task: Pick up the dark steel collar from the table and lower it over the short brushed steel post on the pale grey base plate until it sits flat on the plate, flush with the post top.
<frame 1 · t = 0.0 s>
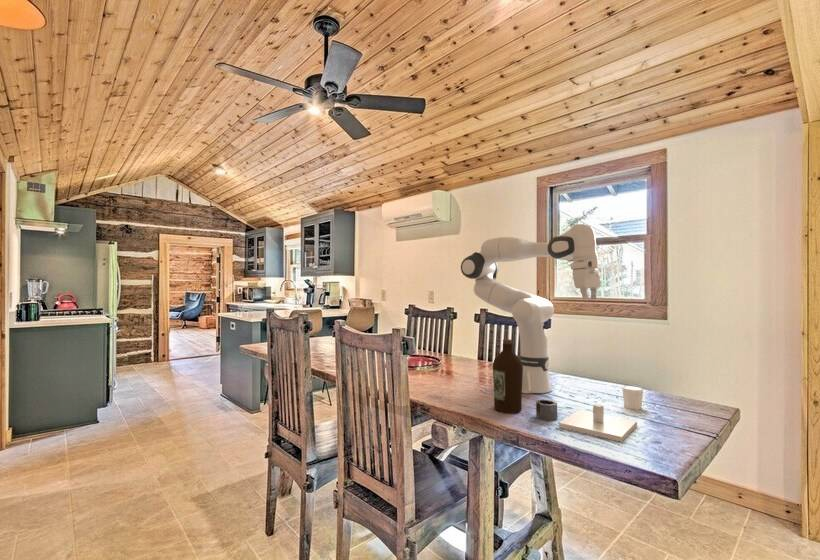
hand: (589, 299, 160), 39 cm above the table, tool pointing down, fingers open, 8 cm apart
olive oil: (507, 410, 147), on the table
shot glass: (632, 407, 150), on the table
steel collar: (546, 417, 138), on the table
post stand: (598, 426, 129), on the table
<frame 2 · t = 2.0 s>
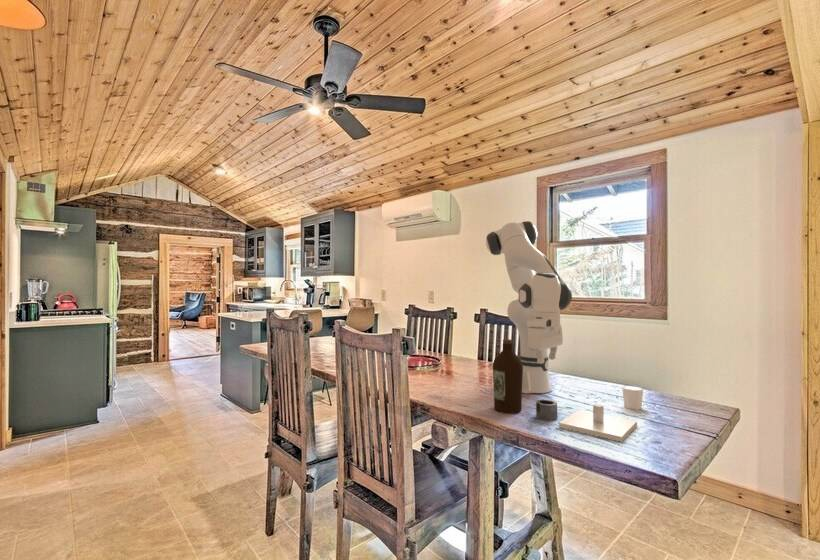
hand: (546, 361, 138), 19 cm above the table, tool pointing down, fingers open, 8 cm apart
nothing on the table moved.
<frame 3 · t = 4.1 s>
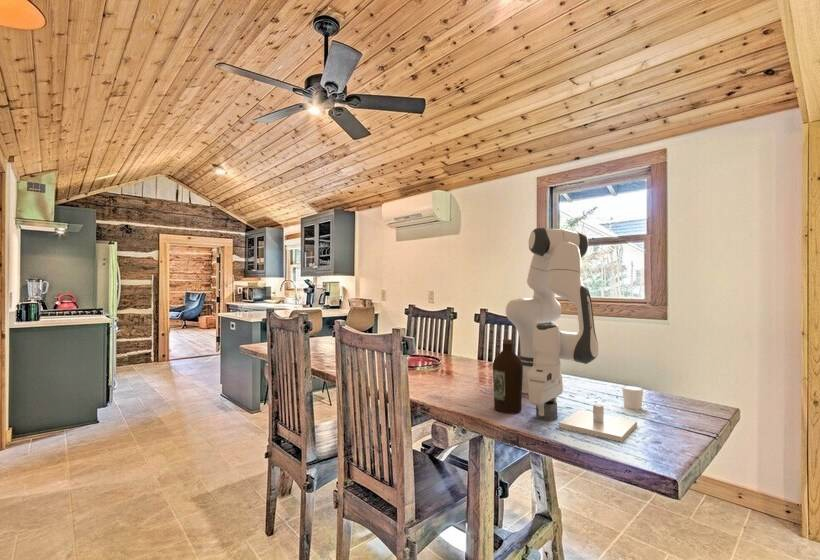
hand: (546, 412, 138), 2 cm above the table, tool pointing down, fingers closed on steel collar, 7 cm apart
steel collar: (546, 417, 138), on the table, touching gripper
everything else where it was.
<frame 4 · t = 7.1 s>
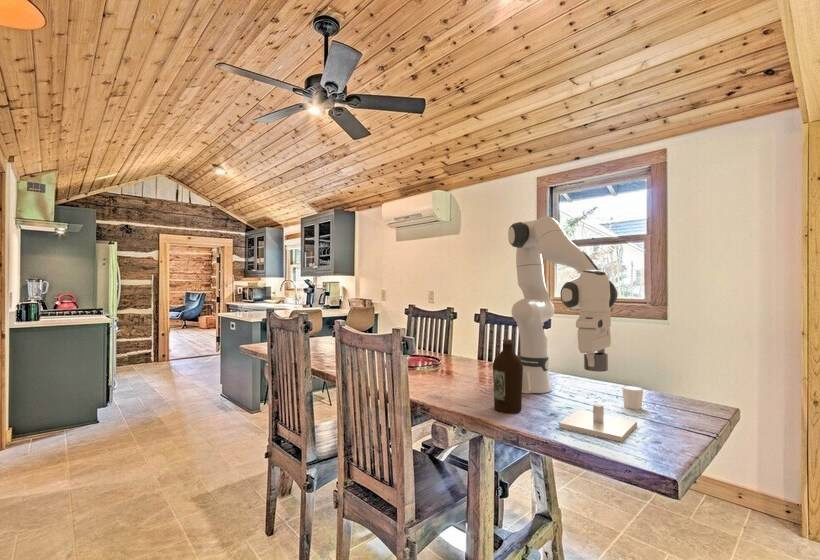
hand: (596, 364, 130), 20 cm above the table, tool pointing down, fingers closed on steel collar, 7 cm apart
steel collar: (596, 369, 130), point 18 cm above the table, touching gripper
everything else where it was.
when the fingers open (4 cm above the table, at t = 10.3 s): steel collar drops 1 cm, resting on post stand.
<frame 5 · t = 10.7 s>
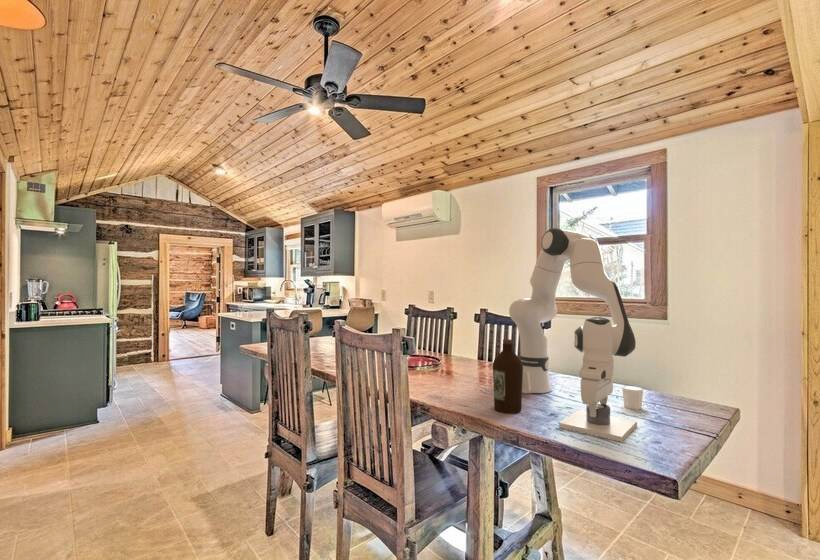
hand: (598, 412, 129), 4 cm above the table, tool pointing down, fingers open, 8 cm apart
steel collar: (598, 421, 129), point 1 cm above the table, touching post stand
everything else where it was.
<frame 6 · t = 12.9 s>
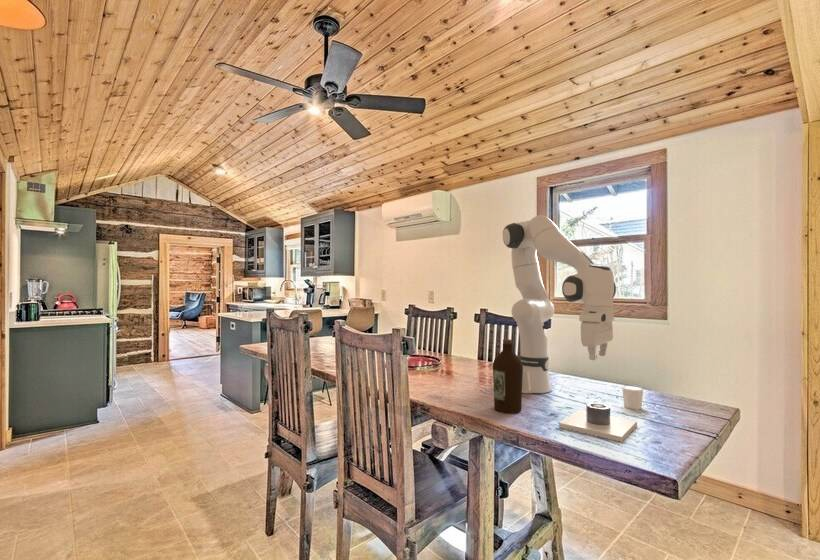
hand: (597, 357, 132), 21 cm above the table, tool pointing down, fingers open, 8 cm apart
nothing on the table moved.
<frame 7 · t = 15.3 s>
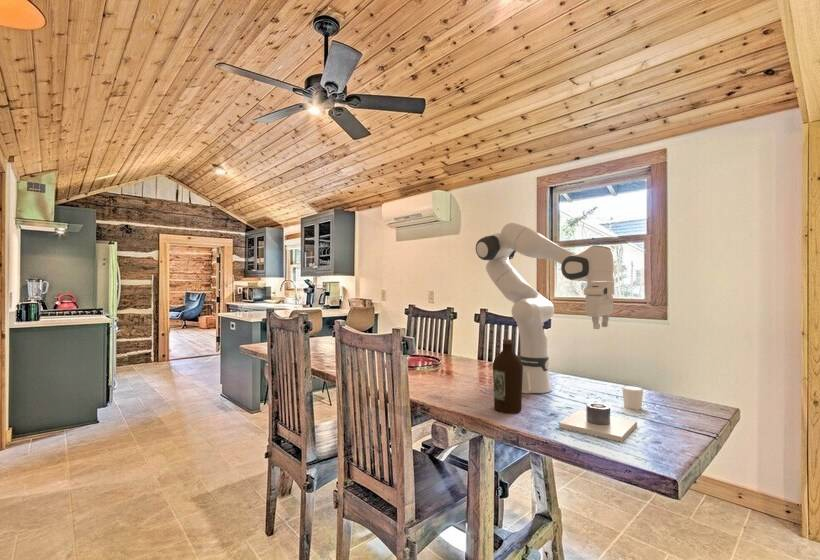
hand: (600, 327, 148), 29 cm above the table, tool pointing down, fingers open, 8 cm apart
nothing on the table moved.
at the end: steel collar 0.1 cm from the post stand (horizontally); steel collar point 1.5 cm above the table; the gripper is holding nothing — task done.
